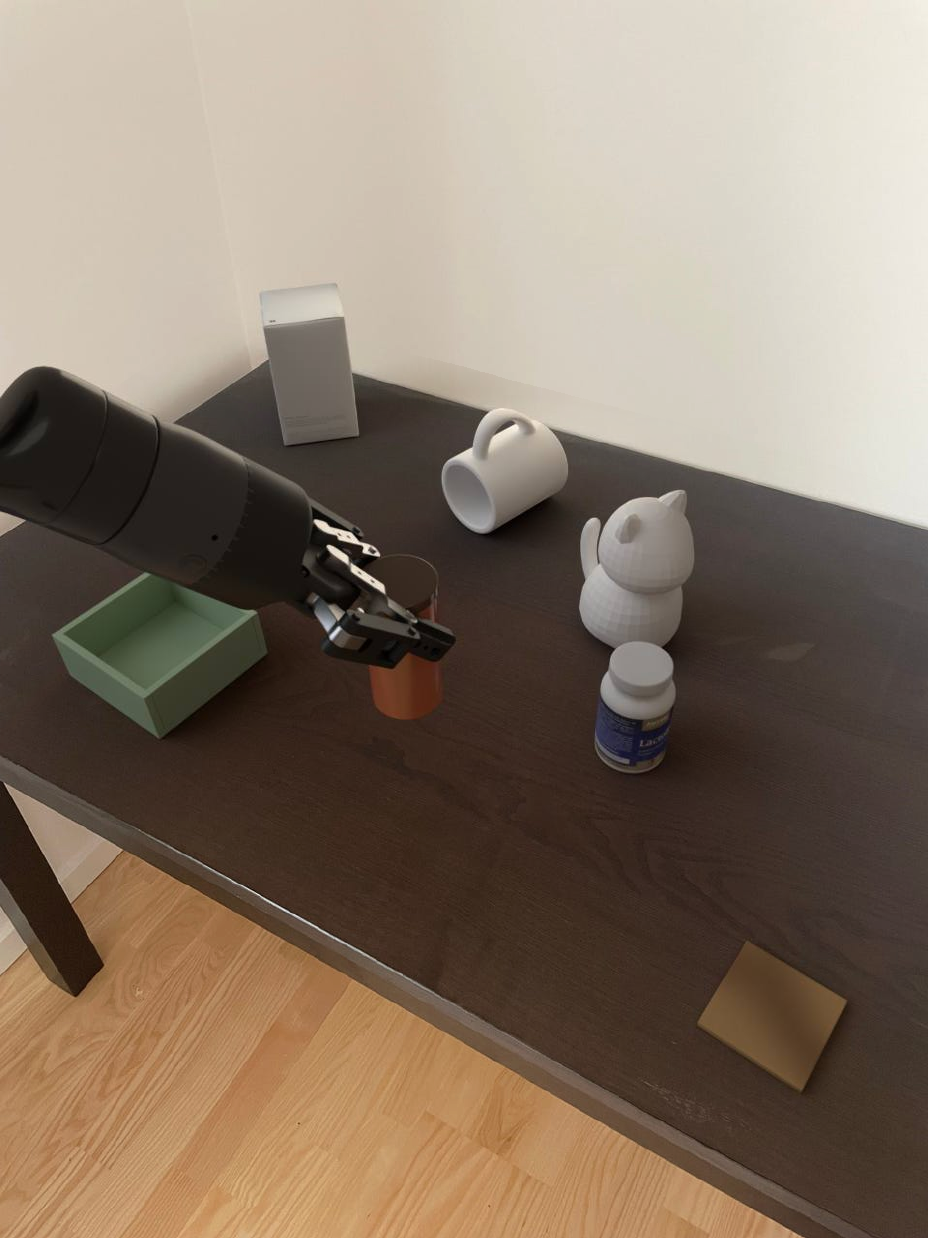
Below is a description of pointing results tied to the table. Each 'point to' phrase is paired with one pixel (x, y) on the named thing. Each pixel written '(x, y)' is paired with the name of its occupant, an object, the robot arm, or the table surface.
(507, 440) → the mug
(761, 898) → the table surface
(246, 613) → the crate
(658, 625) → the cat figurine
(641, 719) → the pill bottle
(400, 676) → the spice jar
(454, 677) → the table surface
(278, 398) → the rectangular carton
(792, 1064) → the coaster
